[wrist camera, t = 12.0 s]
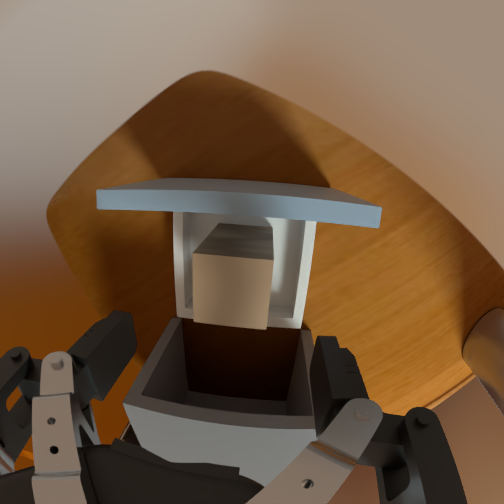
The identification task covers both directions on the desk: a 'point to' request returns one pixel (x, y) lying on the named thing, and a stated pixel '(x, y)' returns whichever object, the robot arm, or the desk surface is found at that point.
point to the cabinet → (219, 415)
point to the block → (233, 276)
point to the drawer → (246, 213)
